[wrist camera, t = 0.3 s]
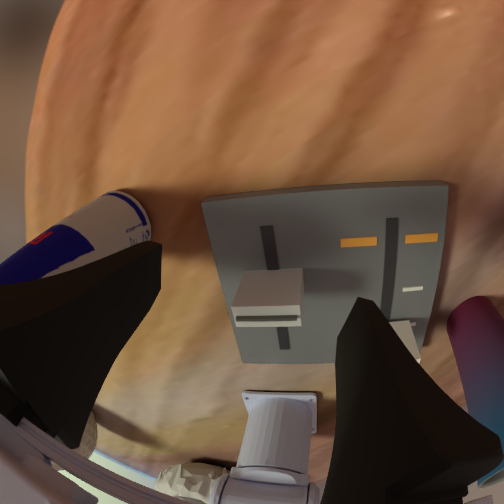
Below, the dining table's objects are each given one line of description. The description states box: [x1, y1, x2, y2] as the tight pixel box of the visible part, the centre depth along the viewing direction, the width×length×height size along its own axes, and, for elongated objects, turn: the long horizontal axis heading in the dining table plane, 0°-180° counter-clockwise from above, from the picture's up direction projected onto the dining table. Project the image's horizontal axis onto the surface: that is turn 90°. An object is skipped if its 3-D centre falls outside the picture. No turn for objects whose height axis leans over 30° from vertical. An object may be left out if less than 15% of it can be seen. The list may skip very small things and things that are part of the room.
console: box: [201, 181, 449, 364], centre depth 19 cm, size 15×16×6 cm
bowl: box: [155, 463, 231, 504], centre depth 43 cm, size 21×20×10 cm
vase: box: [51, 411, 97, 471], centre depth 38 cm, size 13×13×17 cm
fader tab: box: [389, 320, 421, 363], centre depth 19 cm, size 2×4×4 cm, turn 100°
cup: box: [447, 296, 504, 488], centre depth 14 cm, size 7×7×15 cm
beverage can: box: [0, 191, 151, 285], centre depth 16 cm, size 6×6×15 cm
